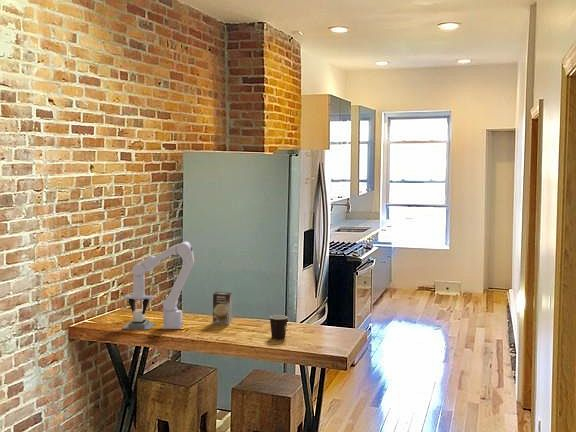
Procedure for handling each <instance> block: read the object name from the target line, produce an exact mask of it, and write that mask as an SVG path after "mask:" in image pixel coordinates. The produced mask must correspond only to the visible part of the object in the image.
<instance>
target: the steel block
mask: <svg viewBox="0 0 576 432" xmlns="http://www.w3.org/2000/svg"><path fill="white" fill-rule="evenodd" d="M144 319H146V313H145V314H143V308H135V310H134V311H133V313H132V320H133V322H142V321H143V320H144Z"/></svg>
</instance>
